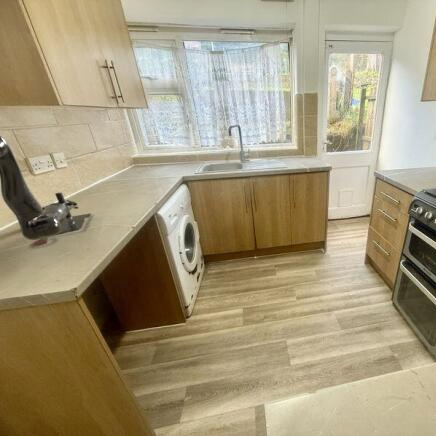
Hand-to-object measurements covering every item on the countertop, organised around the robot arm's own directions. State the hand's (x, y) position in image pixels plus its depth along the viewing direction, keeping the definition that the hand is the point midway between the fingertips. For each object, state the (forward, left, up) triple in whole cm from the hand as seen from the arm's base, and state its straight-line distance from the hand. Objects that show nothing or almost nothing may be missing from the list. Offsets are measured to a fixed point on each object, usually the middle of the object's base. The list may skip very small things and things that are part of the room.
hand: (64, 202), depth 117 cm
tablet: (0, -8, -9) cm, 12 cm away
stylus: (0, -3, -7) cm, 8 cm away
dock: (-5, -24, -9) cm, 26 cm away
